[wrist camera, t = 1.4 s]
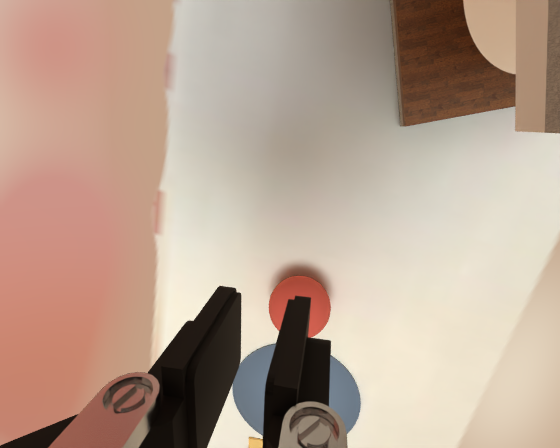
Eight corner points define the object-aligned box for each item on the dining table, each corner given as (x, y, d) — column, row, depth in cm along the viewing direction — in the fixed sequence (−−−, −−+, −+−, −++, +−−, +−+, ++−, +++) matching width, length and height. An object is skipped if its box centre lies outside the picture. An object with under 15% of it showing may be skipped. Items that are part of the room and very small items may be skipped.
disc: (233, 334, 35) (232, 335, 34) (368, 353, 33) (368, 355, 32) (233, 433, 39) (232, 435, 39) (352, 456, 37) (352, 458, 37)
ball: (276, 262, 31) (263, 290, 26) (333, 269, 30) (333, 299, 25) (273, 312, 33) (261, 347, 28) (328, 320, 32) (326, 357, 27)
